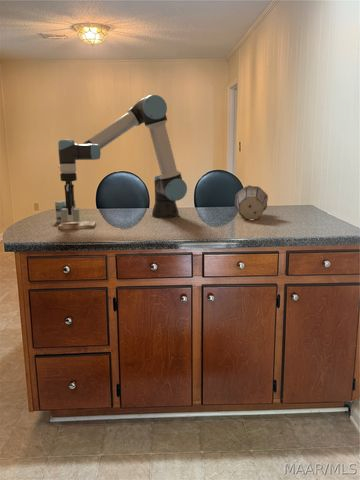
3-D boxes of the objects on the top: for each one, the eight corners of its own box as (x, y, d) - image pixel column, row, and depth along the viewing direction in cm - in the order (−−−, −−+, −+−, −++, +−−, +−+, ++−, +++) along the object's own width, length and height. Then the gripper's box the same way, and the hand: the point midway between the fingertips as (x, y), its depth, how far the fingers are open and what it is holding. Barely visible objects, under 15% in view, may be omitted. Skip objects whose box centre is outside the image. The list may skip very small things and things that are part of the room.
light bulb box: (67, 222, 216) (66, 202, 213) (55, 222, 217) (54, 202, 214) (76, 219, 226) (75, 199, 223) (65, 219, 227) (64, 199, 225)
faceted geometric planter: (269, 193, 211) (265, 175, 237) (234, 195, 213) (234, 177, 240) (269, 225, 218) (265, 204, 245) (235, 226, 221) (235, 205, 248)
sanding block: (79, 220, 207) (79, 208, 205) (78, 221, 202) (77, 209, 200) (63, 220, 206) (62, 208, 204) (61, 222, 201) (60, 209, 200)
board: (95, 224, 211) (95, 221, 211) (94, 228, 200) (93, 225, 200) (61, 225, 209) (61, 222, 209) (58, 229, 198) (58, 226, 198)
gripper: (63, 171, 207) (66, 217, 212) (57, 173, 189) (60, 223, 194) (78, 171, 208) (81, 217, 213) (73, 173, 190) (76, 223, 195)
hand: (71, 220), depth 204 cm, fingers closed on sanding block, 5 cm apart
